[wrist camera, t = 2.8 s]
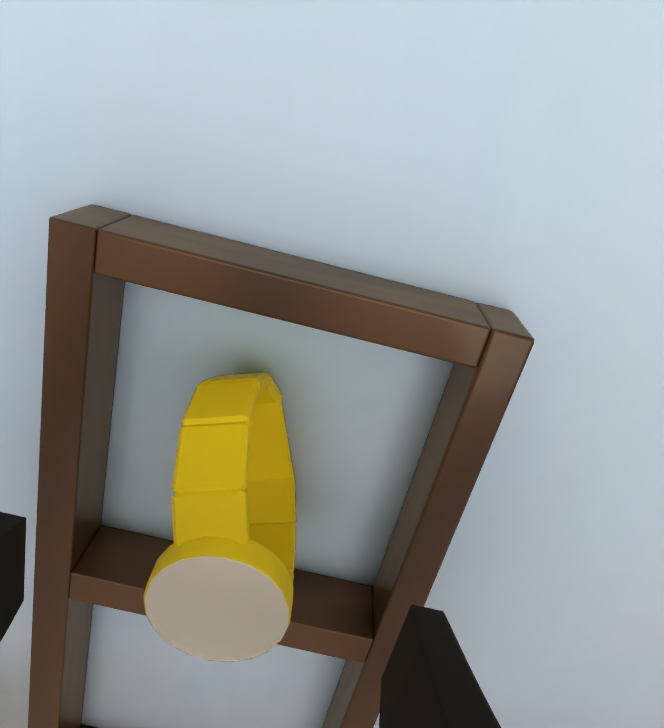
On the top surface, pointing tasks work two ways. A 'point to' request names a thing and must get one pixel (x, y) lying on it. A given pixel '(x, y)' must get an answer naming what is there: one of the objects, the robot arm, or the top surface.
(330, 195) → the top surface
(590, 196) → the top surface
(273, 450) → the watch
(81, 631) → the holder
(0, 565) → the robot arm
